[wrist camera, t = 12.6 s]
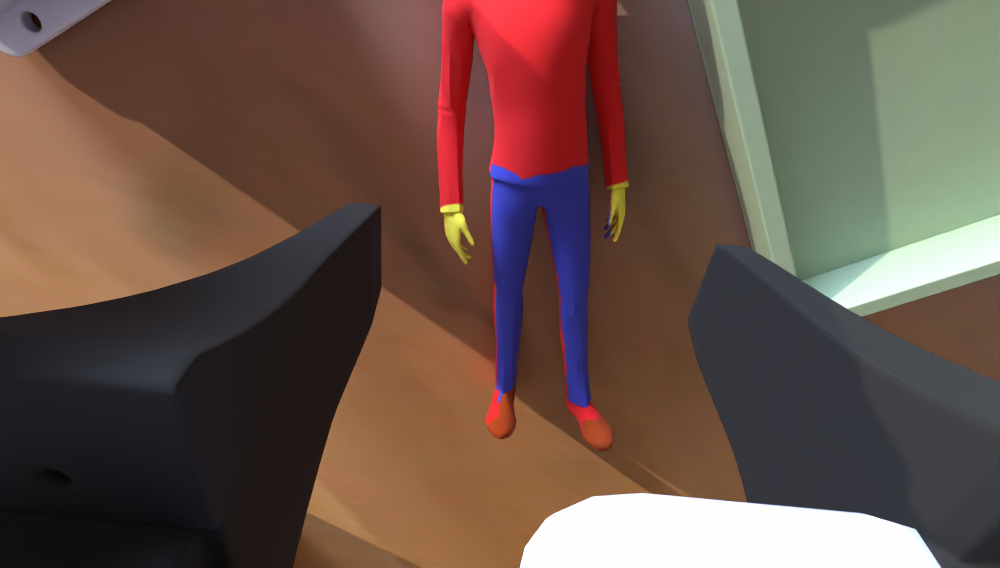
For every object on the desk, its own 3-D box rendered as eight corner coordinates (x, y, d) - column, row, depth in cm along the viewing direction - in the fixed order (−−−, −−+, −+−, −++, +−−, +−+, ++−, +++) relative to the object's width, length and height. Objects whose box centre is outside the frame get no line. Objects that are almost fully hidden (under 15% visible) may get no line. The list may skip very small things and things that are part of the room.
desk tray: (763, 298, 20) (791, 339, 18) (609, -296, 12) (629, -339, 10) (1088, 190, 18) (1160, 225, 16) (1185, -665, 9) (1367, -824, 7)
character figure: (483, 486, 19) (410, -382, 8) (454, 398, 23) (376, -289, 11) (630, 444, 20) (745, -356, 9) (582, 367, 24) (622, -279, 13)
